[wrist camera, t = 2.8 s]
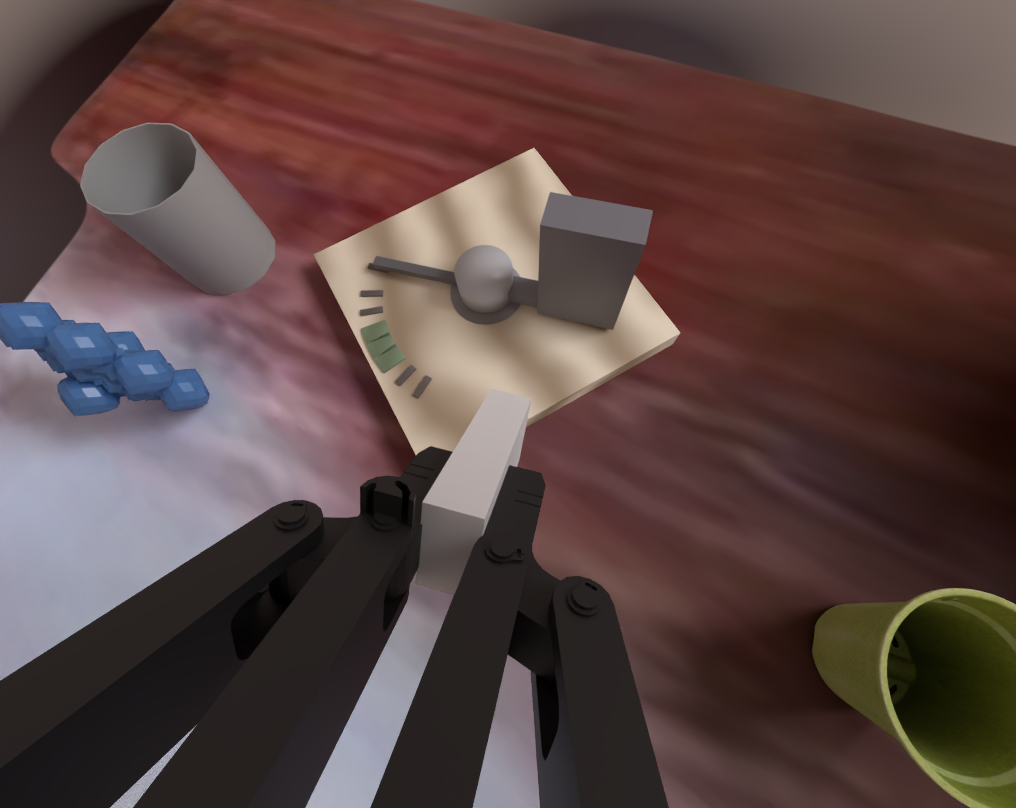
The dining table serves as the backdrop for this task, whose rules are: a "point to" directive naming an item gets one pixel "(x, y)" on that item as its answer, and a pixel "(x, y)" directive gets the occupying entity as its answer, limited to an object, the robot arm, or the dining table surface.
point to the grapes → (98, 362)
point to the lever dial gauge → (555, 264)
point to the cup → (179, 207)
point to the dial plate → (466, 333)
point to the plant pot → (933, 683)
